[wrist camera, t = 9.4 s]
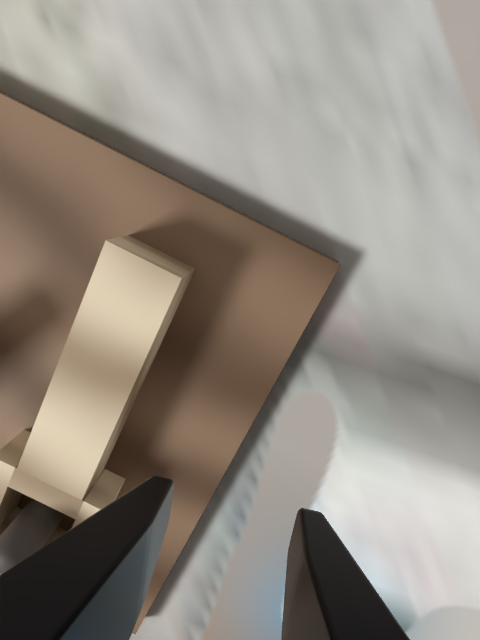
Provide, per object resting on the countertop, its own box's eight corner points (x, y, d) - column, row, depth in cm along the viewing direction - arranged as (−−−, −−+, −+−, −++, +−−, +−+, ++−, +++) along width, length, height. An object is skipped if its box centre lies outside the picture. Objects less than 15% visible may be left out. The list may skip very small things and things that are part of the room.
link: (87, 558, 24) (65, 598, 22) (-8, 512, 24) (-41, 547, 22) (220, 281, 20) (210, 292, 17) (103, 222, 19) (76, 226, 17)
